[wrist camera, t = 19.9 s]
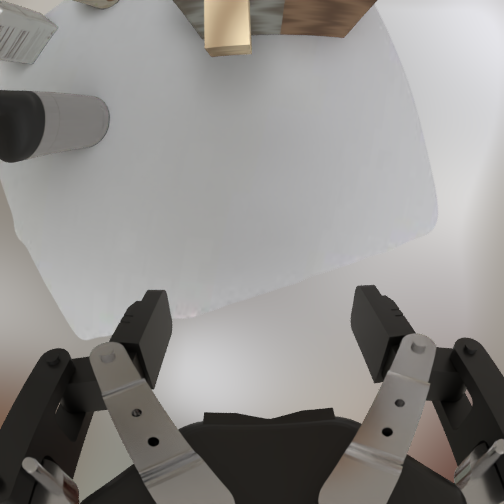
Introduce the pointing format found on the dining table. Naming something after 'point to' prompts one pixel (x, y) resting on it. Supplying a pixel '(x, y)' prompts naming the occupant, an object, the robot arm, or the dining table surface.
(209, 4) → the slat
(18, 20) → the supplement box
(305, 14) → the step shelf
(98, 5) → the mug
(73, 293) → the dining table surface
